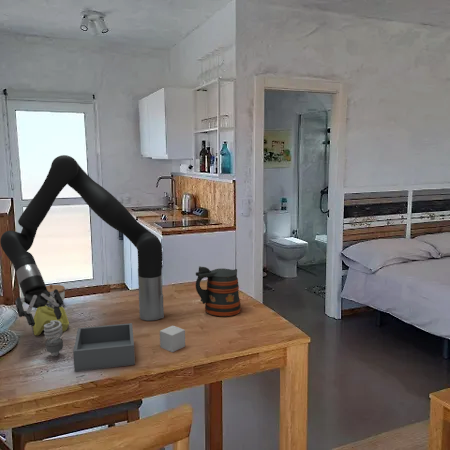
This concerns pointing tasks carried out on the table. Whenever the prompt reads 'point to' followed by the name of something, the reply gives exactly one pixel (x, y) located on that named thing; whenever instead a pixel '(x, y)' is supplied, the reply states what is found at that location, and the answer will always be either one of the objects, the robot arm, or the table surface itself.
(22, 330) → the table surface
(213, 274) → the beer stein
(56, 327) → the light bulb
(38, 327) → the plastic component
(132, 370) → the table surface
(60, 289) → the lidded jar
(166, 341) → the light grey cube
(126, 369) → the table surface
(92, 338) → the bin
